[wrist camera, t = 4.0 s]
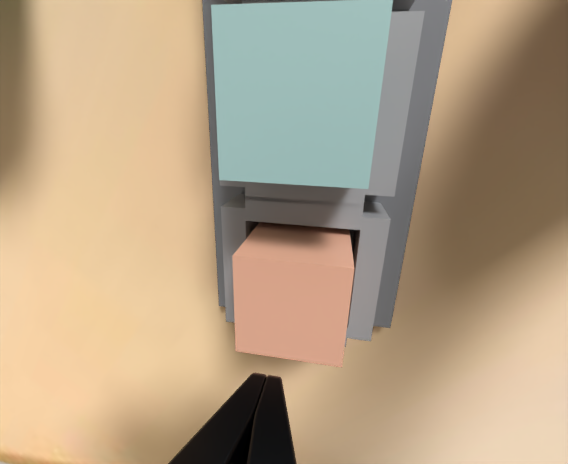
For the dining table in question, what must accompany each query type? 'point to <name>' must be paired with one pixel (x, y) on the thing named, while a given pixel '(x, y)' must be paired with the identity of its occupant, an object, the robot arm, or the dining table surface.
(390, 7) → the key teal
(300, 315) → the salmon pink block
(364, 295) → the keypad base
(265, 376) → the robot arm
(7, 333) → the dining table surface
